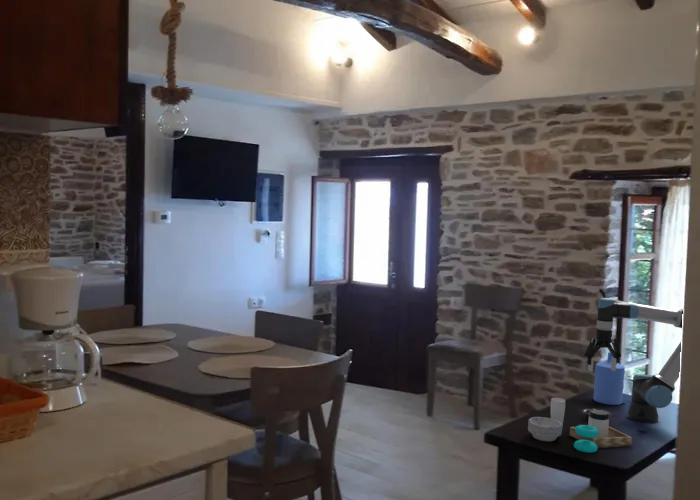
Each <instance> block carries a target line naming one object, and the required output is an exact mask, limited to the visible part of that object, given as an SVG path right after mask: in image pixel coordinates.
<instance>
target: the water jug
mask: <svg viewBox="0 0 700 500" xmlns="http://www.w3.org/2000/svg"><path fill="white" fill-rule="evenodd" d="M607 354H608V355H607V359H606V360H602V361H599V362H597V363H595V369H594V371H595V373H594V375H595V376H594V381H593V382H594V383H593V386H594V389H593V390H594V391H593V396H592V397H593V398H592V399H593V401H595V402H596V403H599V404H603V405H608V406H619V405H622V404H623V402H624V400H623V396H624V388H625V385H624V384H625V383H624V381H625V373H626V372H625V370H626V369H625V365H622V364H621V363H619V362H617V364H616V371H612V370H611V360H612V357H613V356H612V354H611V353H610V352H607ZM613 358H614V357H613Z"/></svg>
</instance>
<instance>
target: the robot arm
mask: <svg viewBox="0 0 700 500" xmlns="http://www.w3.org/2000/svg"><path fill="white" fill-rule="evenodd" d="M683 310H684V308H683V309H682V308H676V309H671V308H665V307H664V308H663V307H659V306H652V305H645V304H640V303H635V302H628V301H622V300H619V299H614V298H610V297H609V298H608V297H600V298H599V299H598V303H597V316H596V317H597V318H596V328H597V329H596V330H595V335H596V338H593V337H592V338H590V342H589V344H588V346H587V348H586V350H585V352H584V354H583V356H584V358H587V361H586V364H587V365H588V366H587V371H588V372H591V373H593V372H594V358H593V357H594V356H595V355H596V354H597V352H598V351H599V350H600V349H603V348H605V349H607V350H608V351H609V353H611V354H612V356H613V357H614V358H613V357H612V360H611V370H612V371H616V364H617V363H618V359H620V358H621V357H622V354H621V351H620V349H619V348H620V347H619V346H618V339H617V338H614V337H613V328H614V319H626V320H627V319H628V320H636V319H638V320H643V321H651V322H656V323H661V324H667V325H668V324H669V325H673V326H674V327H675V328H680V329H682V314H683ZM680 352H681V341H680V343H679V344H678V345H677V347H676V348H675V349H674V350H673V352H672V354H671V355H670V356H669V357H668V359H667V360H666V362H665V364H664V365H663V367H662V368H661V369H660V371H659V373H658V374H657V373H656V374H653V375H651V374H650V375H649V374H639V373H637V374H633V377H632V389H631V403H630V406H629V407H628V410H627V411H626V417H627V418H628V419H631V420H633V421H635V422H642V423H657V422H659V419H660V418H659V414H658V410H657V409H663V408H666V407H668V406H670V404H671V403H672V401H673V393H674V391H675V390H676V387H675V384H676V382H677V381H678V380H679V378H680V377H679V372H680Z"/></svg>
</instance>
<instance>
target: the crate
mask: <svg viewBox="0 0 700 500" xmlns="http://www.w3.org/2000/svg"><path fill="white" fill-rule="evenodd" d="M575 427H576V426H570V427H569V436H571V437H572V438H574V439H576V440H589V441H592V442H594V443H595V444H596V445H597V447H598V449H603V448H604V449H605V448H619V447H621V448H622V447H631V446H632V441H633V440H632V439H633V437H632V436H630V435H629V434H626V433H623V432H621V430H617V429H615V428H614V427H611V426H609V428H608V438H596V439H595V438H593V437H591V438H589V437H583V436H580V435H578V434H577V433H576V432H575Z"/></svg>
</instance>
